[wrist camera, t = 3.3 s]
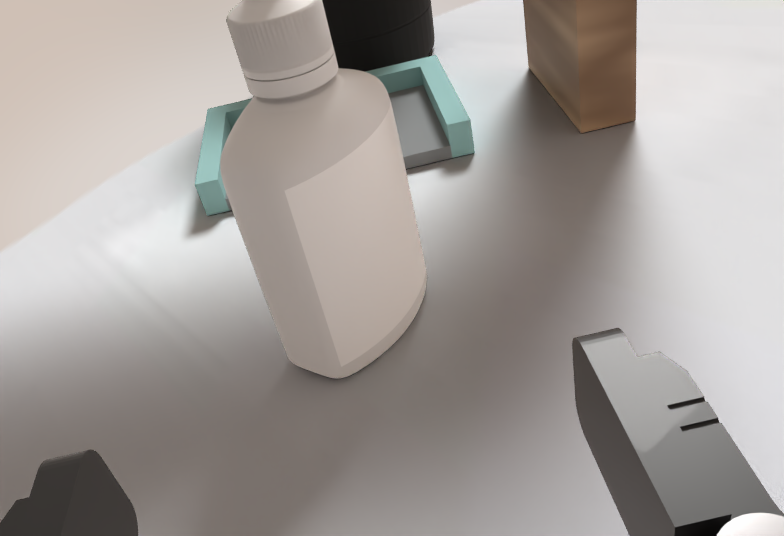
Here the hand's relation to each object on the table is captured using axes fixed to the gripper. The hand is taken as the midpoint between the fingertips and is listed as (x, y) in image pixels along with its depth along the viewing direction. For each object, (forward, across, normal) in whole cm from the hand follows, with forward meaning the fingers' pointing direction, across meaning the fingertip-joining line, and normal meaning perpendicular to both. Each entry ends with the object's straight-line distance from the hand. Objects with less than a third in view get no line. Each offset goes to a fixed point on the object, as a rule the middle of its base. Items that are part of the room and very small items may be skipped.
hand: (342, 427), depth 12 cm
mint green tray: (+23, 0, +6) cm, 24 cm away
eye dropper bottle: (+10, 0, +7) cm, 12 cm away
